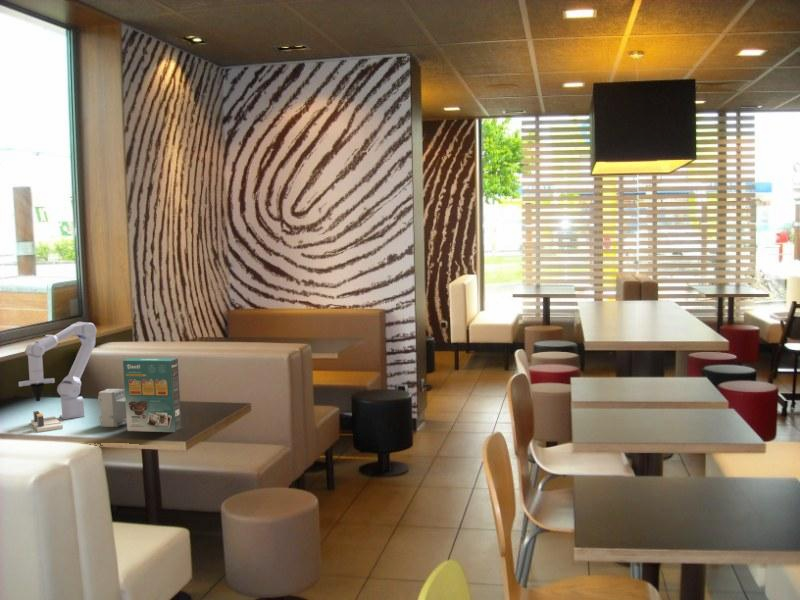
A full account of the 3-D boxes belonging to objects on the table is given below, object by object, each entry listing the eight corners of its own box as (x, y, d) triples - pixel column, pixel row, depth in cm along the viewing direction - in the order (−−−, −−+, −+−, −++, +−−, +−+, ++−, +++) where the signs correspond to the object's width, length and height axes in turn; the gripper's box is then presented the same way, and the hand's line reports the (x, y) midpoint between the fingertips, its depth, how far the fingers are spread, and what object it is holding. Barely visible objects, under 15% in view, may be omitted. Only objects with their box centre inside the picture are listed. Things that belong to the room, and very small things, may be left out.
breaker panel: (55, 419, 384) (54, 407, 383) (62, 428, 367) (61, 416, 366) (31, 423, 379) (30, 411, 378) (37, 432, 362) (36, 419, 361)
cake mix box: (181, 428, 360) (177, 358, 357) (174, 432, 354) (170, 360, 351) (134, 427, 365) (130, 358, 362) (127, 430, 359) (122, 360, 356)
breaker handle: (42, 423, 369) (41, 413, 369) (43, 425, 366) (43, 415, 365) (37, 424, 368) (36, 414, 368) (38, 426, 365) (38, 415, 364)
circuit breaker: (130, 427, 366) (128, 392, 364) (100, 426, 369) (97, 392, 367) (139, 422, 373) (136, 389, 372) (109, 422, 376) (107, 388, 374)
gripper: (19, 373, 368) (21, 404, 369) (55, 369, 375) (57, 400, 377) (17, 371, 374) (19, 401, 375) (52, 367, 381) (54, 397, 383)
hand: (37, 400), depth 376 cm, fingers closed
